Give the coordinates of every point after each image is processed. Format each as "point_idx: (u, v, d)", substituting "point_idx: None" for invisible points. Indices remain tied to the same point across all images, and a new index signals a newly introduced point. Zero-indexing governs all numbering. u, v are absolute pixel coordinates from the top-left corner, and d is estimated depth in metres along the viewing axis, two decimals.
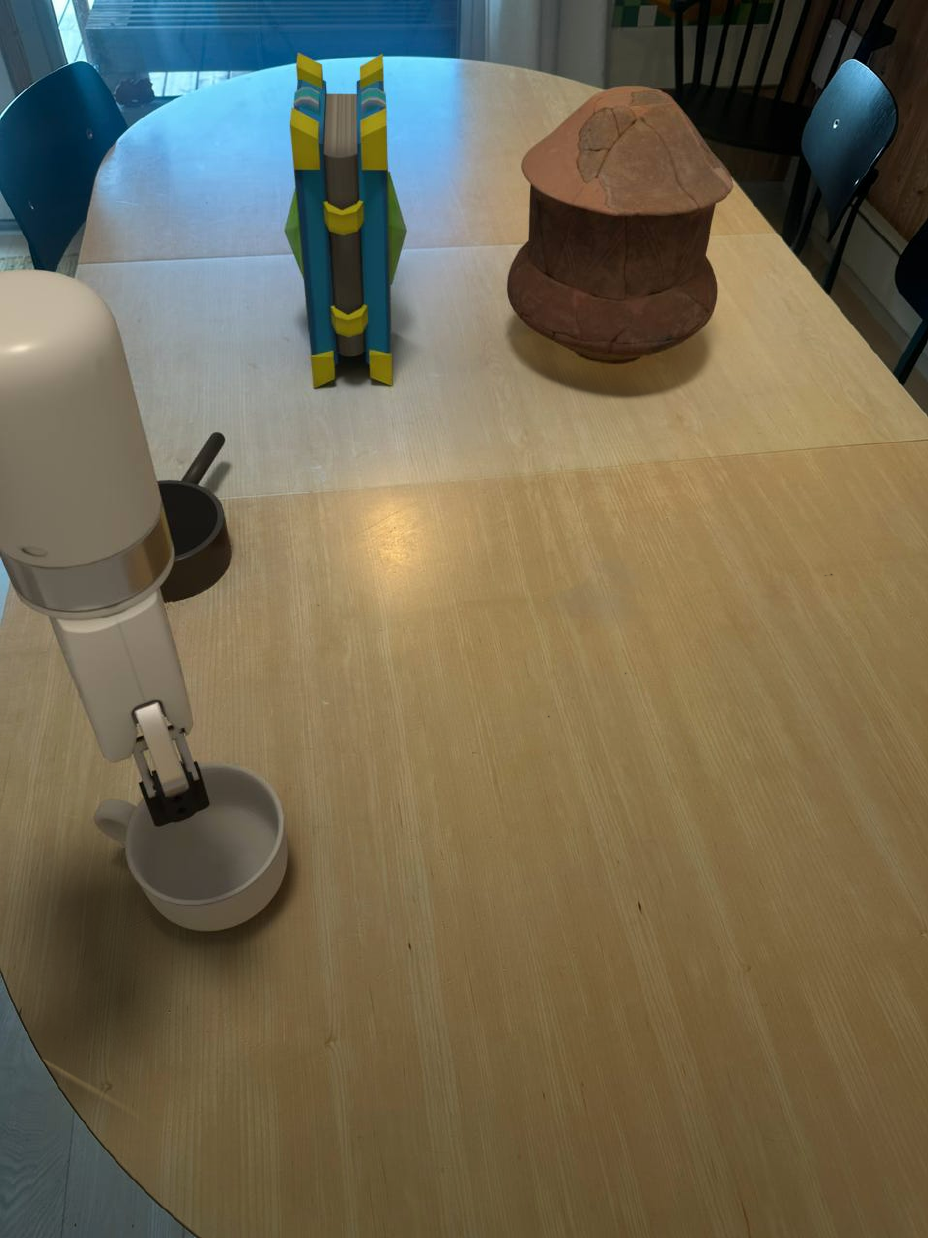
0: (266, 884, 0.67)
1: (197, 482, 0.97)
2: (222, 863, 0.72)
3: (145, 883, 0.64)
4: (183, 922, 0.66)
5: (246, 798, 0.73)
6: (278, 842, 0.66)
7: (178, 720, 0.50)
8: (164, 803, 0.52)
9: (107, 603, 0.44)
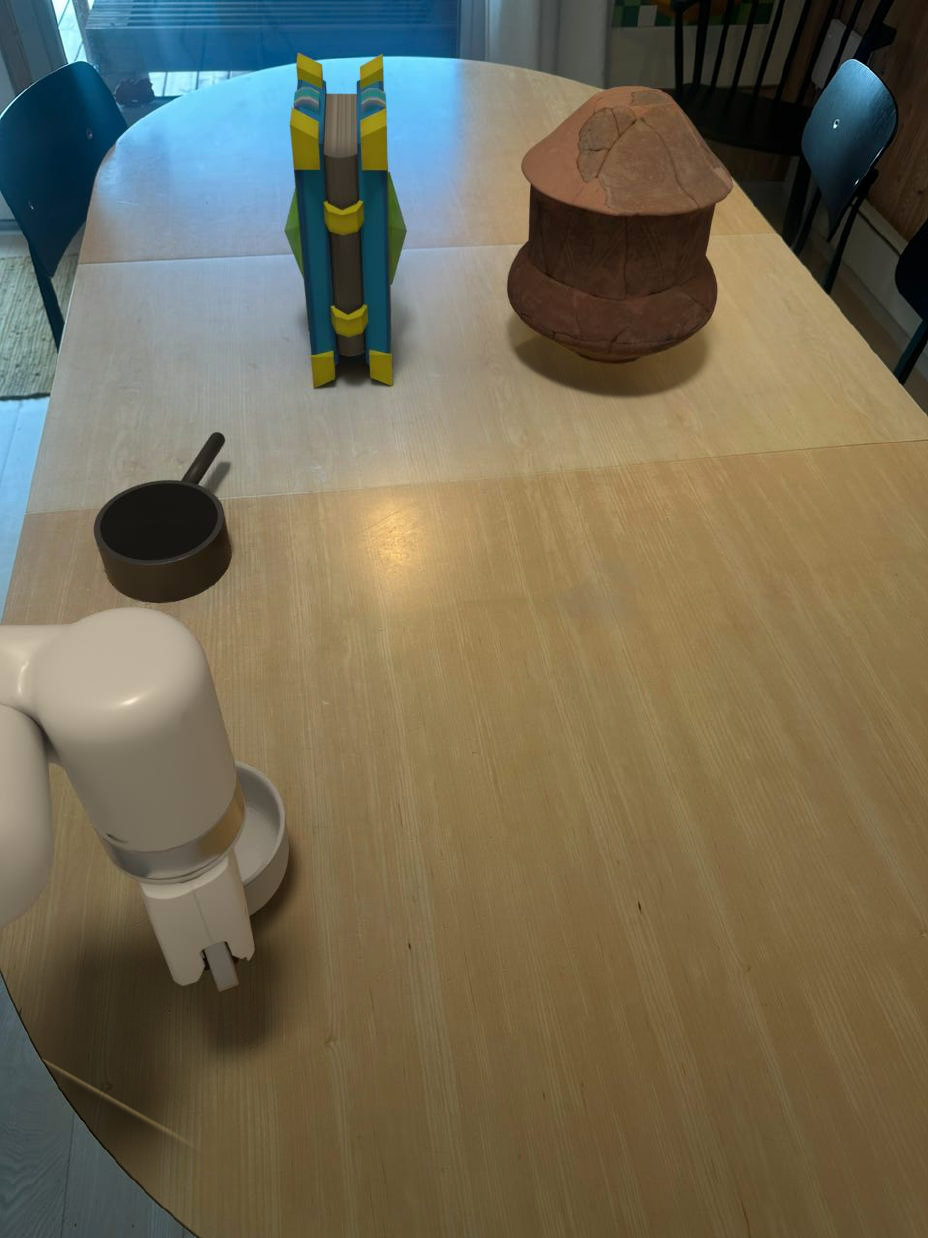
0: (267, 880, 0.67)
1: (197, 482, 0.97)
2: None
3: None
4: None
5: (247, 795, 0.73)
6: (279, 838, 0.66)
7: None
8: None
9: (184, 873, 0.49)
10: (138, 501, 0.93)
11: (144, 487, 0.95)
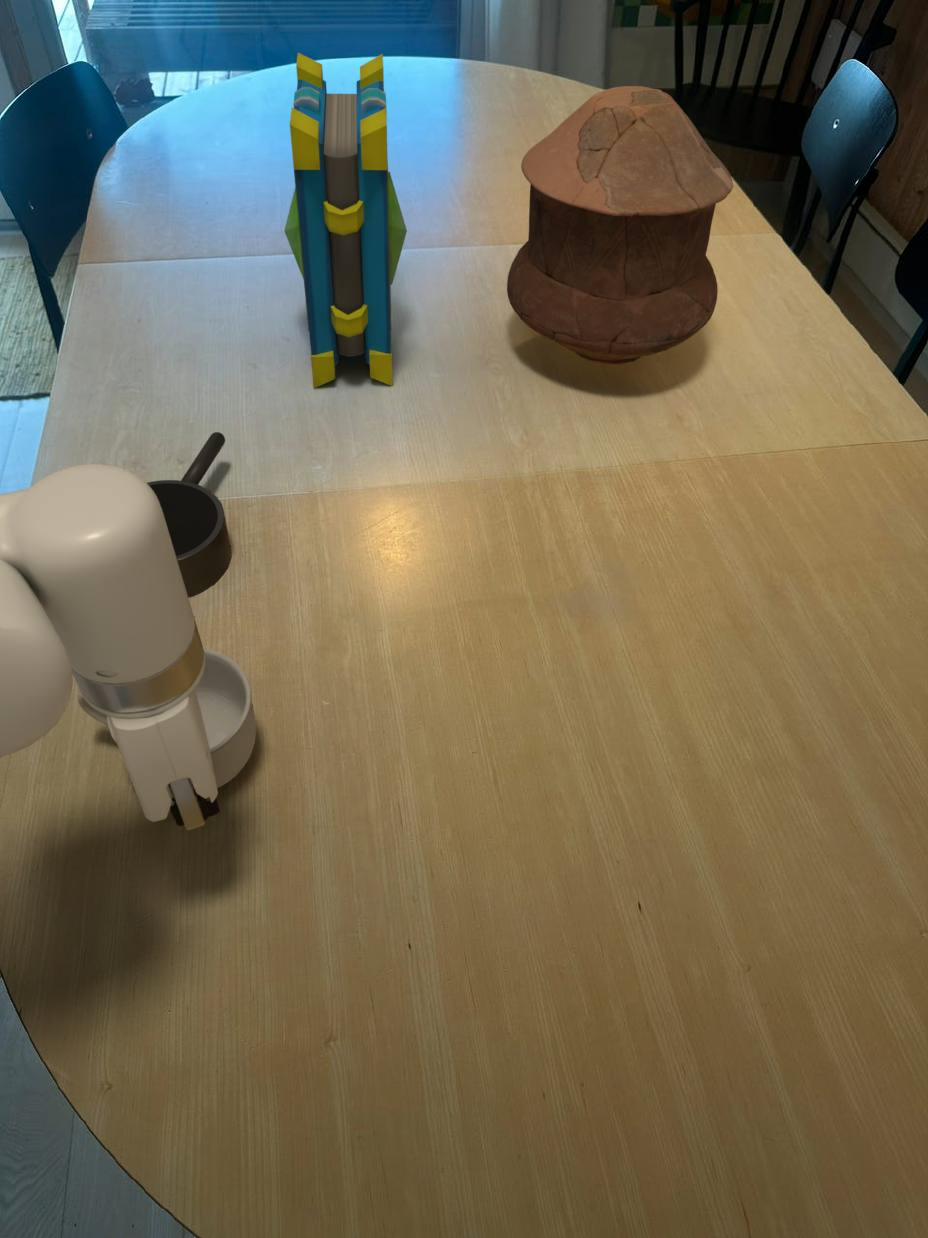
0: (236, 750, 0.74)
1: (197, 482, 0.97)
2: None
3: None
4: None
5: (217, 683, 0.80)
6: (246, 711, 0.74)
7: None
8: None
9: (149, 707, 0.56)
10: None
11: None
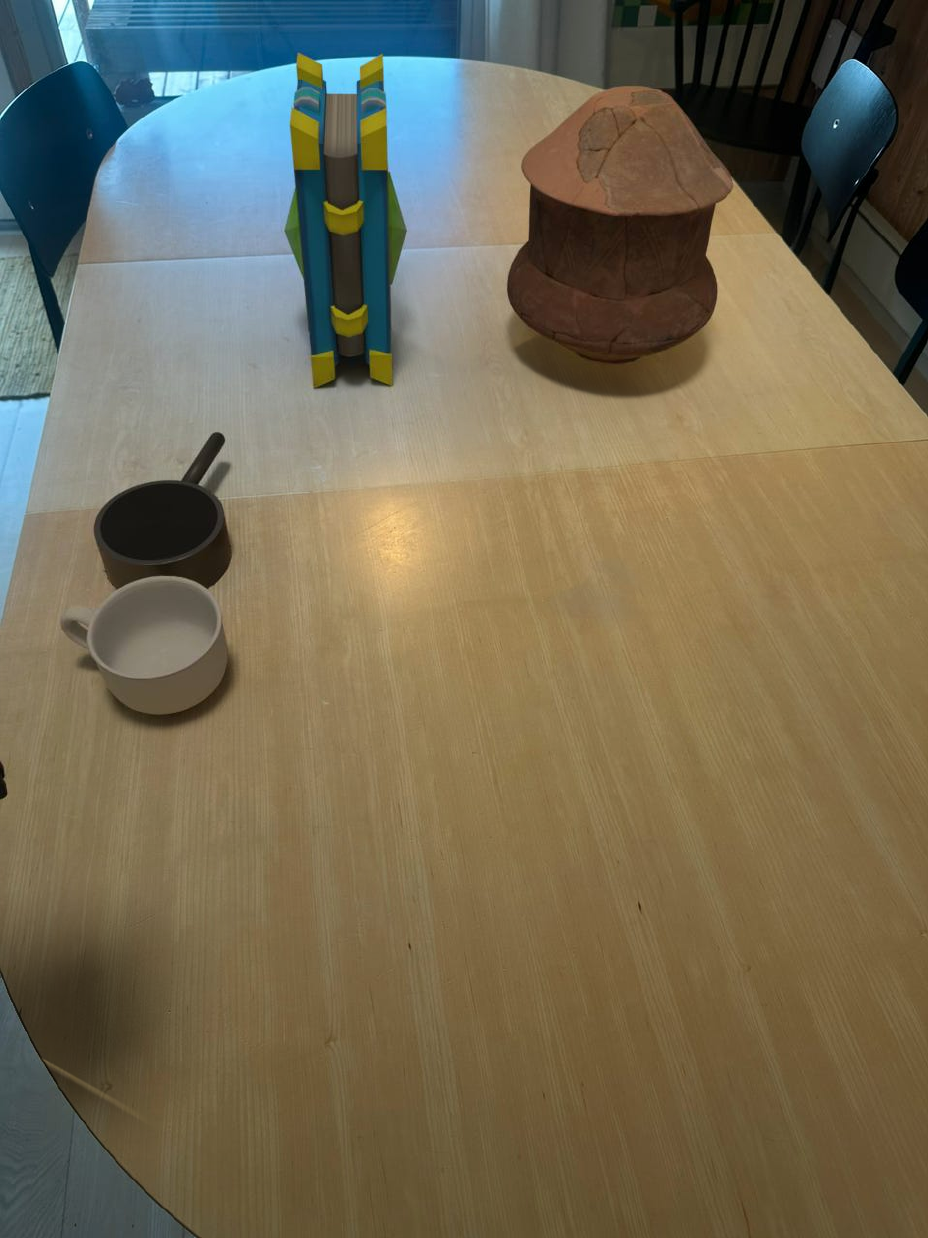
0: (207, 669, 0.79)
1: (197, 482, 0.97)
2: (172, 667, 0.85)
3: (104, 664, 0.76)
4: (138, 702, 0.79)
5: (191, 612, 0.85)
6: (216, 633, 0.79)
7: None
8: None
9: None
10: (138, 501, 0.93)
11: (144, 487, 0.95)
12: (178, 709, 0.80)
